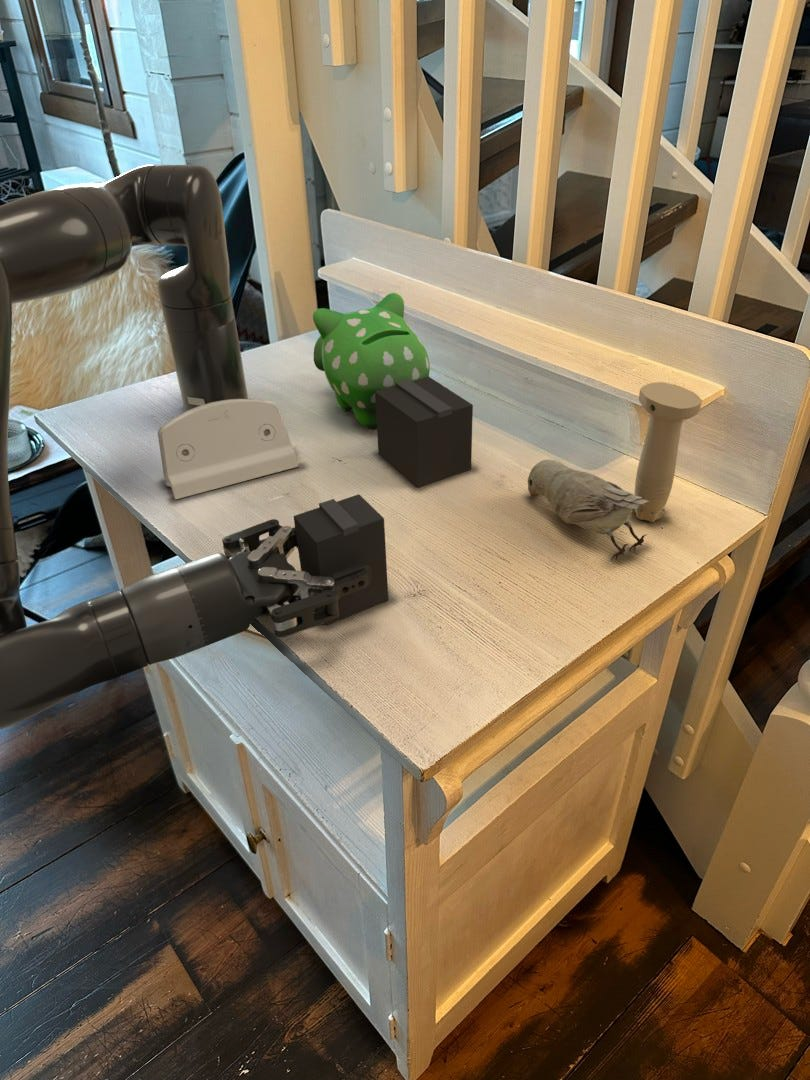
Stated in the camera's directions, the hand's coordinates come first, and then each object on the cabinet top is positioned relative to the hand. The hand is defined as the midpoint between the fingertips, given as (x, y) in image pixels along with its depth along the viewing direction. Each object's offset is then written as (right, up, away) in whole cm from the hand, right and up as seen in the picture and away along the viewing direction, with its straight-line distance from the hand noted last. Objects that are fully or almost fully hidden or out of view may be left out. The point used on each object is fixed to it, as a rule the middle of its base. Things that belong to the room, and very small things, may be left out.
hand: (348, 548), depth 73 cm
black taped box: (+8, +11, +25) cm, 28 cm away
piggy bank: (+1, +20, +38) cm, 43 cm away
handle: (+33, +4, +14) cm, 36 cm away
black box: (0, -5, +3) cm, 6 cm away
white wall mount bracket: (-17, +10, +25) cm, 32 cm away
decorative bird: (+25, +2, +12) cm, 28 cm away
